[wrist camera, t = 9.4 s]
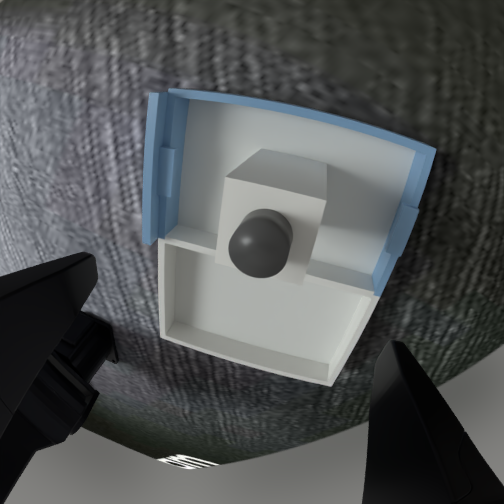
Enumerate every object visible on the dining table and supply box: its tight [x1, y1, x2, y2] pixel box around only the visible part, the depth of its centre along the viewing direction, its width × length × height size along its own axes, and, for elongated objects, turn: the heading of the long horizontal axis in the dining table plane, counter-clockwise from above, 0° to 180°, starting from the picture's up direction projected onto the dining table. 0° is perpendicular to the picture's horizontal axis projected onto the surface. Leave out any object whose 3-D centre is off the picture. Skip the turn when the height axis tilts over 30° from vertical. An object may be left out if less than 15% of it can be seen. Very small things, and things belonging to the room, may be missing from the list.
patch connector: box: [215, 148, 327, 286], centre depth 15 cm, size 4×4×9 cm
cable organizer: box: [142, 88, 436, 386], centre depth 20 cm, size 20×16×4 cm
